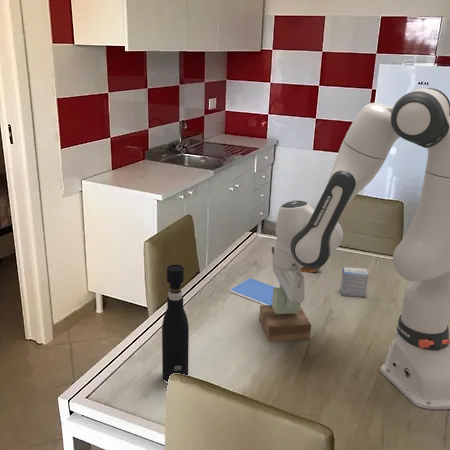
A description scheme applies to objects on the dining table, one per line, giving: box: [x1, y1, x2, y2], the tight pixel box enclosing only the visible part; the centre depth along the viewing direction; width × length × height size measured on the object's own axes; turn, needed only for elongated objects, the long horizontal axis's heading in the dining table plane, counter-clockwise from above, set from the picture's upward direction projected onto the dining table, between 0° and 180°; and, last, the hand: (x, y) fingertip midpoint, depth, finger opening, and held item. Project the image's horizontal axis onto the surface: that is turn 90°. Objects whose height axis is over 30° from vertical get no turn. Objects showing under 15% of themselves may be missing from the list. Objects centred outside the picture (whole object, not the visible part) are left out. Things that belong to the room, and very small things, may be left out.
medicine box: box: [340, 266, 369, 298], centre depth 172 cm, size 8×4×9 cm, turn 84°
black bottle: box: [161, 264, 190, 382], centre depth 124 cm, size 6×6×30 cm
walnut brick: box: [258, 305, 312, 342], centre depth 151 cm, size 12×12×5 cm
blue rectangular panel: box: [229, 277, 278, 306], centre depth 171 cm, size 19×13×1 cm, turn 53°
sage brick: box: [272, 287, 301, 314], centre depth 148 cm, size 4×7×6 cm, turn 99°
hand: (286, 301), depth 148 cm, fingers closed on sage brick, 4 cm apart
